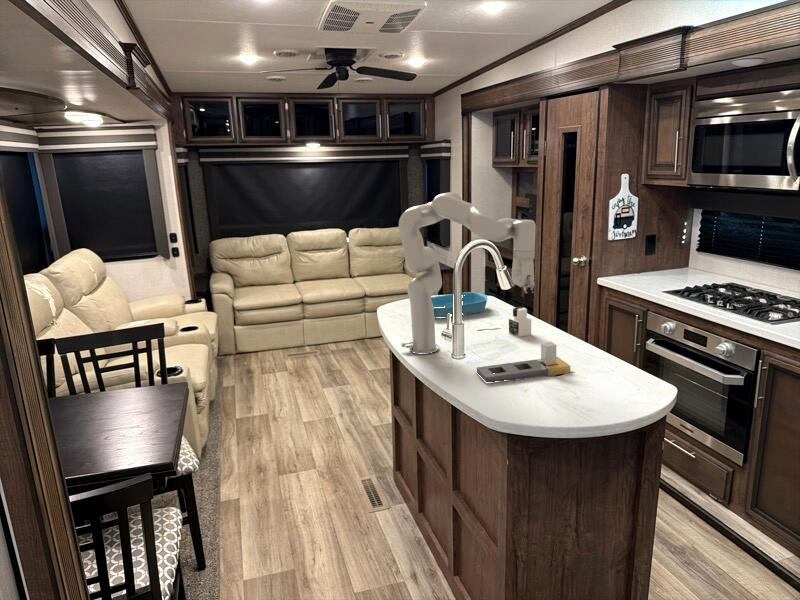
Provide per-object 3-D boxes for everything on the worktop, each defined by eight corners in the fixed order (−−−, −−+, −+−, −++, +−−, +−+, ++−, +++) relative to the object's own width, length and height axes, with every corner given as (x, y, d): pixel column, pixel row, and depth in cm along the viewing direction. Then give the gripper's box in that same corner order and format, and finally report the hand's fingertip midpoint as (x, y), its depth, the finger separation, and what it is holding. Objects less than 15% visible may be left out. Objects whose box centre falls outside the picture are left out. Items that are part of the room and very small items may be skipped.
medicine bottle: (508, 333, 244) (508, 307, 241) (521, 330, 247) (521, 304, 244) (518, 337, 238) (518, 311, 235) (531, 334, 240) (531, 308, 237)
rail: (486, 384, 192) (486, 377, 191) (476, 373, 201) (476, 367, 200) (570, 372, 197) (570, 365, 197) (557, 362, 207) (557, 356, 206)
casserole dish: (428, 323, 267) (427, 309, 265) (413, 312, 287) (412, 299, 286) (495, 312, 278) (495, 298, 276) (476, 302, 298) (476, 289, 296)
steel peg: (546, 372, 199) (546, 346, 196) (541, 368, 202) (541, 343, 200) (556, 370, 199) (556, 345, 197) (550, 367, 203) (551, 341, 201)
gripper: (505, 250, 205) (504, 295, 209) (523, 259, 188) (522, 307, 193) (523, 249, 206) (522, 293, 211) (544, 258, 190) (542, 305, 194)
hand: (522, 299), depth 202 cm, fingers open, 9 cm apart
